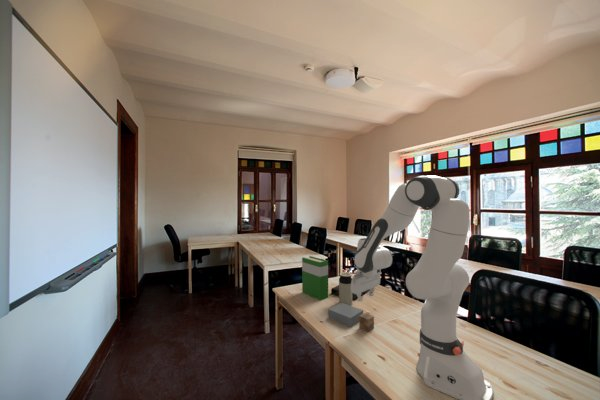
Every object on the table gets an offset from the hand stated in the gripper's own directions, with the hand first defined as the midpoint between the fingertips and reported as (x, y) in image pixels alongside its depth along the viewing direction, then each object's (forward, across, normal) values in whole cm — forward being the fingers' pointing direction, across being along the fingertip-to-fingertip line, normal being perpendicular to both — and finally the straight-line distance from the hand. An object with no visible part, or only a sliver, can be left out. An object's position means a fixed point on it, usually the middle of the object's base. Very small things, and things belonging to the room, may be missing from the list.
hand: (365, 298), depth 118 cm
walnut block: (+15, 0, -1) cm, 15 cm away
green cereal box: (+16, +10, +46) cm, 50 cm away
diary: (+16, +33, +33) cm, 49 cm away
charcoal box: (+15, 0, +12) cm, 20 cm away
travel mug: (+15, +15, +24) cm, 32 cm away
